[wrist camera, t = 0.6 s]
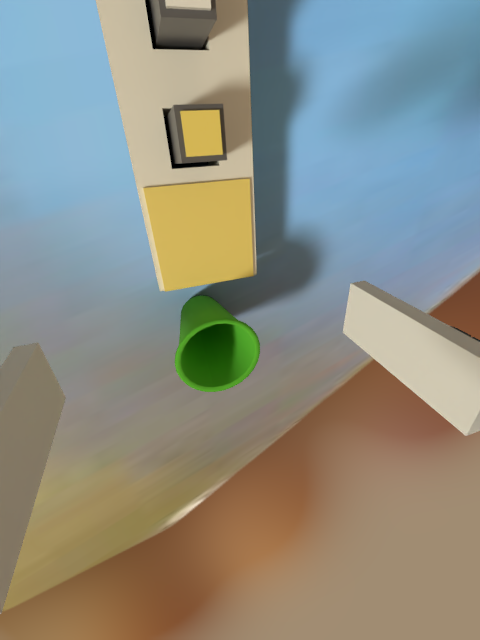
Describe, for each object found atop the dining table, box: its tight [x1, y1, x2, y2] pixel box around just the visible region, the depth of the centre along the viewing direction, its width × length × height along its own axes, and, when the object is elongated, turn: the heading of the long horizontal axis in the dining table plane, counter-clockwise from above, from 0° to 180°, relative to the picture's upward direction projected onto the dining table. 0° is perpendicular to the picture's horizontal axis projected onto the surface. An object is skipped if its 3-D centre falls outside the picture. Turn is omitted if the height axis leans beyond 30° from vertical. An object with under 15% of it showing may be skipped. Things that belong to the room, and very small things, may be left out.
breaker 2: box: [166, 104, 227, 164], centre depth 23 cm, size 4×4×6 cm
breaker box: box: [96, 0, 257, 291], centre depth 27 cm, size 26×11×5 cm, turn 4°
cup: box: [175, 296, 260, 392], centre depth 34 cm, size 9×9×11 cm
